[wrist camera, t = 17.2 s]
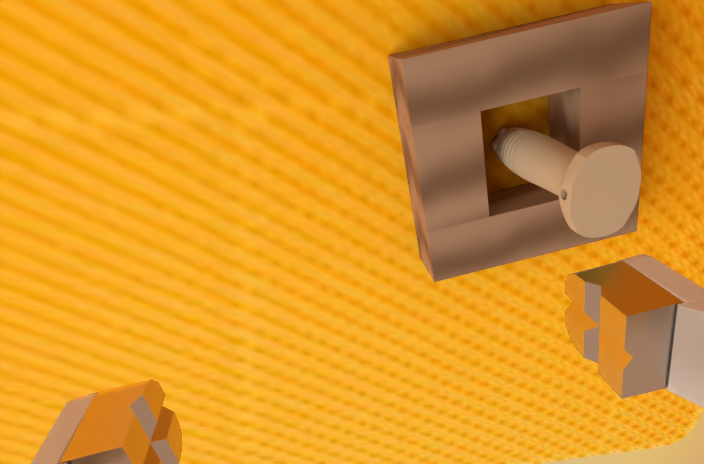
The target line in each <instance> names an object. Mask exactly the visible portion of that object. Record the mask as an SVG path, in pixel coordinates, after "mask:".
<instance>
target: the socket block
mask: <svg viewBox="0 0 704 464" xmlns="http://www.w3.org/2000/svg"><path fill="white" fill-rule="evenodd" d="M651 7H652V1H650V2H636V3H622V4H609V5H605V6H601V7H597V8H592V9H588V10H584V11H579V12H575V13H571V14H566V15H562V16H558V17H553V18H549V19H545V20H540V21H536V22H532V23H528V24H523V25H519V26H515V27H510V28H506V29H502V30H497V31H493V32H489V33H484V34H480V35H476V36H471V37H467V38H463V39H459V40H454V41H450V42H446V43H441V44H437V45H433V46H428V47H424V48H420V49H415V50H411V51H407V52H402V53H398V54H394V55H390V56H388V60H389V66H390V72H391V78H392V84H393V91H394V97H395V103H396V109H397V115H398V122H399V128H400V134H401V140H402V147H403V153H404V159H405V165H406V171H407V178H408V184H409V190H410V196H411V202H412V209H413V215H414V221H415V227H416V233H417V240H418V246H419V252H420V258H421V260H422V261H423V263H424V265H425V266H426V268H427V270H428V271H429V273H430V275H431V276H432V278H433V280H434V281H435V282H436V281H440V280H444V279H448V278H452V277H456V276H460V275H464V274H468V273H472V272H476V271H480V270H484V269H488V268H492V267H496V266H500V265H504V264H508V263H512V262H516V261H520V260H523V259H527V258H531V257H535V256H539V255H543V254H547V253H551V252H555V251H559V250H563V249H567V248H571V247H575V246H579V245H583V244H587V243H591V242H595V241H599V240H603V239H607V238H611V237H614V236H618V235H622V234H626V233H630V232H634V231H637V220H638V205H639V196H638V200H637V203H636V205H635V207H634V209H633V211H632V213H631V214H630V216H629V218H628V219H627V221H626V223H625V224H624V226H623V227H622V228H621V229H619V230H618V231H616V232H614V233H613V234H610V235H607V236H603V237H598V238H587V237H584V236H581V235H579V234H578V233H576V232H575V231H573V230H572V229H571V228H570V227H569V226H568V224H567V222H566V220H565V217H564V215H563V212H562V209H561V206H560V202H559V196H558V195H556V194H554V193H552V192H550V191H548V190H546V189H544V188H542V187H540V186H538V185H535V184H533V183H529V184H525V185H521V186H517V187H513V188H509V189H505V190H501V191H496V192H492V193H488V194H487V183H486V171H485V159H484V147H483V135H482V124H481V112H480V111H484V110H488V109H492V108H496V107H501V106H505V105H509V104H513V103H517V102H522V101H526V100H530V99H534V98H538V97H542V96H547V95H549V122H550V137H552V138H553V139H555V140H557V141H559V142H561V143H562V144H564V145H566V146H568V147H570V148H571V149H573V150H575V151H577V152H579V151H580V150H581V149H583V148H585V147H586V146H589V145H591V144H595V143H599V142H614V143H618V144H622V145H624V146H627V147H630V148H632V149H633V150H635V153H636V155H637V158H638V161H639V165H640V168H641V159H642V144H643V129H644V114H645V98H646V83H647V68H648V53H649V38H650V22H651Z"/></svg>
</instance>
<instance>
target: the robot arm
mask: <svg viewBox="0 0 704 464" xmlns="http://www.w3.org/2000/svg"><path fill="white" fill-rule="evenodd" d="M565 293H566V294H567V295H568V296H569V297H570V298H571V299H572V300H573V301H572V302H571V304H570V305H569V307H568V308H567V310H566V312H565V316H566V327H567V330H568V333H569V336H570V339H571V341H572V343H573V344H574V346H575V348H576V349H577V350H578V351H579V352H580V354H581V355H582V356H583V357H584V358H587V359H589V360H592V361H594V362H597V363H599V364H598V374H599V375H600V376H601V377H602V378H603V379H604V380H605V381H606V382H607V383H608V384H609V385H610V387H611V388H612V389H613V390H614V391H615V392H616V393H617V394H618V395H619V396H620V397H621V398H626V397H631V396H635V395H639V394H643V393H648V392H652V391H656V390H660V389H665V388H668V391H670V392H672V393H674V394H677V395H679V396H681V397H683V398H685V399H687V400H689V401H691V402H693V403H695V404H697V405H699V406H701V407H703V408H704V289H703V288H702V287H700V286H699V285H697V284H695V283H694V282H692V281H690V280H689V279H687V278H686V277H684V276H682V275H681V274H679V273H677V272H676V271H674V270H673V269H671V268H669V267H668V266H666V265H664V264H663V263H661V262H660V261H658V260H656V259H655V258H653V257H651V256H649V255H643V254H641V255H637V256H634V257H630V258H627V259H623V260H620V261H617V262H616V263H612V264H608V265H604V266H600V267H596V268H592V269H589V270H585V271H581V272H577V273H573V274H569V275H568V276H567V279H566V282H565ZM164 398H165V393H164V392H163V390H162V388H161V386H160V385H159V383H158V382H157V381H154V380H148V381H144V382H140V383H135V384H131V385H127V386H122V387H118V388H114V389H109V390H105V391H101V392H99V393H93V394H89V395H85V396H81V397H77V398H74V399H72V400H71V401H69V402H67V403H66V405H65V407H64V409H63V410H62V412H61V414H60V415H59V417H58V419H57V421H56V422H55V424H54V426H53V427H52V429H51V431H50V432H49V434H48V436H47V438H46V439H45V441H44V443H43V444H42V446H41V448H40V450H39V451H38V453H37V455H36V456H35V458H34V460H33V461H32V463H31V464H179V461H180V456H181V452H182V433H181V429H180V425H179V422H178V420H177V417H176V415H175V413H174V412H173V411H171V410H169V409H167V408H165V407H163V406H162V404H163V401H164Z"/></svg>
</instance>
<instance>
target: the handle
mask: <svg viewBox="0 0 704 464" xmlns="http://www.w3.org/2000/svg"><path fill="white" fill-rule="evenodd" d="M491 148H492V150H494V151H495V152H496V153H497V157H498V159H499V160H500V161H501V162H503V164H504V165H505V166H506V167H508V168H509V169H510V170H511V171H512V172H514V173H515V174H517V175H518V176H520V177H521V178H523V179H525V180H527V181H529V182H531V183H533V184H535V185H538V186H540V187H542V188H544V189H546V190H548V191H550V192H552V193H554V194H556V195H558V196H559V202H560V206H561V209H562V212H563V215H564V217H565V220H566V222H567V224H568V226H569V227H570V228H571V229H572V230H573V231H575V232H576V233H578V234H579V235H581V236H584V237H587V238H598V237H603V236H607V235H610V234H613V233H614V232H616V231H618V230H619V229H621V228H622V227H623V226H624V224H625V223H626V221H627V219H628V218H629V216H630V214H631V213H632V211H633V209H634V207H635V205H636V203H637V200H638V196H639V190H640V184H641V168H640V165H639V161H638V158H637V155H636V153H635V150H633V149H632V148H630V147H627V146H624V145H622V144H618V143H614V142H599V143H595V144H591V145H589V146H586V147H585V148H583V149H581V150H580V151H579V152H577V151H575V150H573V149H571V148H570V147H568V146H566V145H564V144H562V143H561V142H559V141H557V140H555V139H553V138H552V137H550V136H547V135H545V134H543V133H540V132H537V131H534V130H530V129H524V128H520V127H516V126H513V127H511V128H508V129H506V128H501V129H500V130H498V134H497V136H496V138H495V139H494V141H492V143H491Z"/></svg>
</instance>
